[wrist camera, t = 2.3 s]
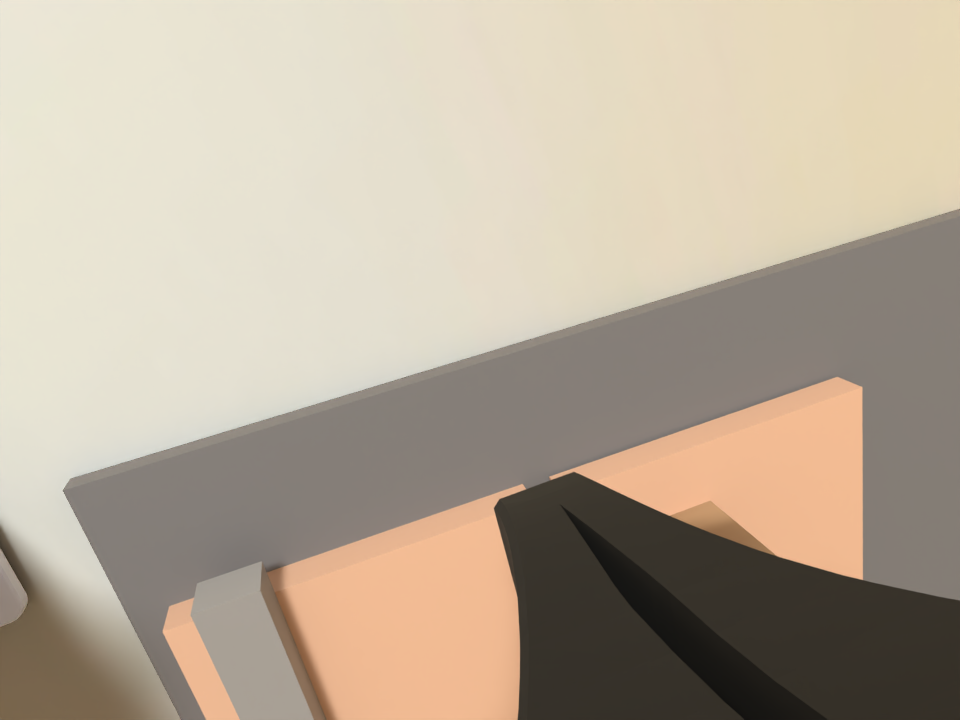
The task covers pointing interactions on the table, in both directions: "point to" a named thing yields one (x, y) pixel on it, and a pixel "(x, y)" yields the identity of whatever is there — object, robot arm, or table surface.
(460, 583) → the ticket
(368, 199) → the table surface
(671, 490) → the peach square slab
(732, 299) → the mat
